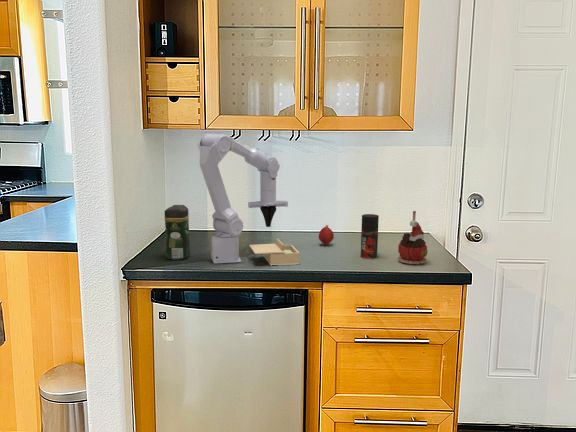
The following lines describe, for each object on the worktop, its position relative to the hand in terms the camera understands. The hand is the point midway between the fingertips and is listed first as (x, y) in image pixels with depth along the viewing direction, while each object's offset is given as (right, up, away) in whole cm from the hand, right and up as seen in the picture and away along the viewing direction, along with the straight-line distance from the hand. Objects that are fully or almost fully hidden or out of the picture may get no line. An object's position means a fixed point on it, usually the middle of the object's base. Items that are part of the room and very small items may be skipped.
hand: (268, 226), depth 204 cm
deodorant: (+36, -11, -5) cm, 38 cm away
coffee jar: (-32, -11, -7) cm, 34 cm away
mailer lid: (0, -8, -13) cm, 15 cm away
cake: (+50, -12, -12) cm, 53 cm away
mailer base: (+5, -12, -11) cm, 17 cm away
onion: (+22, -8, +12) cm, 26 cm away
